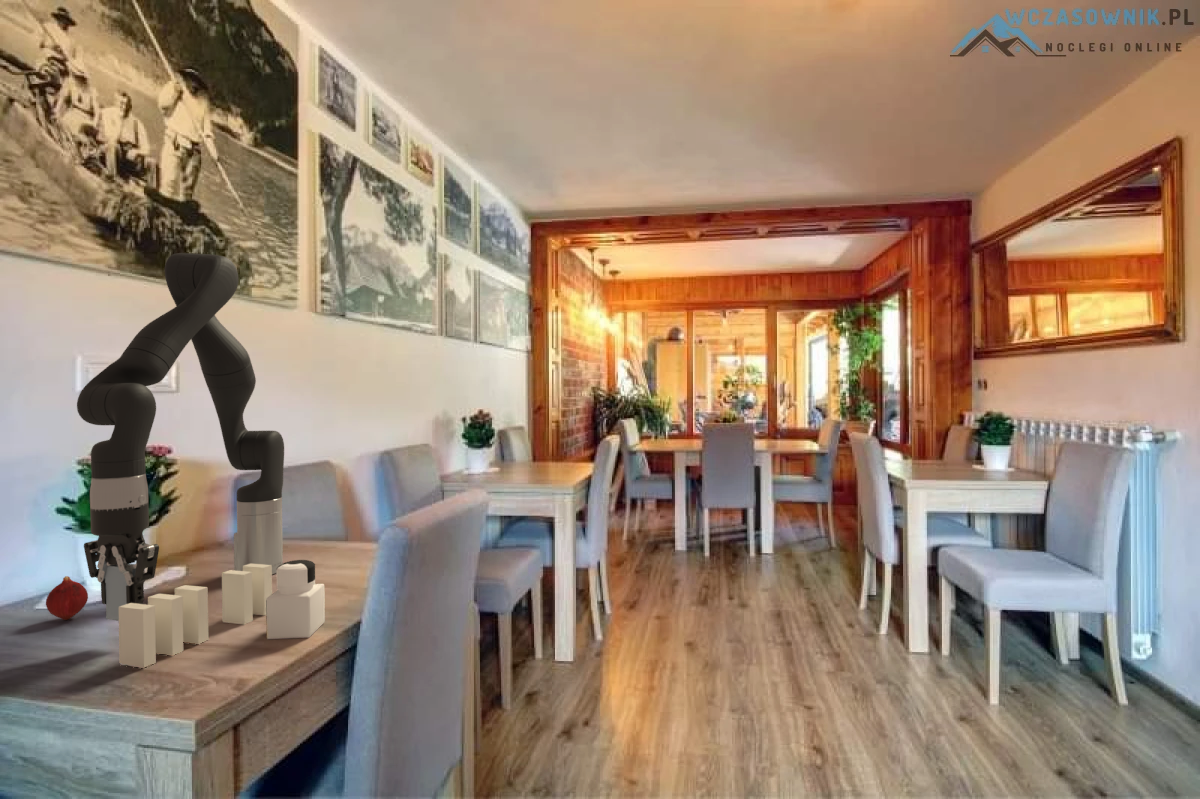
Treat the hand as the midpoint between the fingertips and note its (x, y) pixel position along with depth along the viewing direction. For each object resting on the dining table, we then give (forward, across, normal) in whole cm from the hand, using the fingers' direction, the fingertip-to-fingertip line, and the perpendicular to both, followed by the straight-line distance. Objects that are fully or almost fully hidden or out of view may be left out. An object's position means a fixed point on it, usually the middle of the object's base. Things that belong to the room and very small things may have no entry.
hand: (122, 603), depth 99 cm
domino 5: (+7, +10, +13) cm, 18 cm away
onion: (+7, -22, +6) cm, 24 cm away
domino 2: (+7, +10, -5) cm, 13 cm away
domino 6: (+7, +10, +17) cm, 21 cm away
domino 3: (+7, +10, -1) cm, 12 cm away
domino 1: (+2, 0, 0) cm, 2 cm away
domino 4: (+7, +10, +4) cm, 13 cm away
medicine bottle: (+7, +24, +12) cm, 28 cm away
